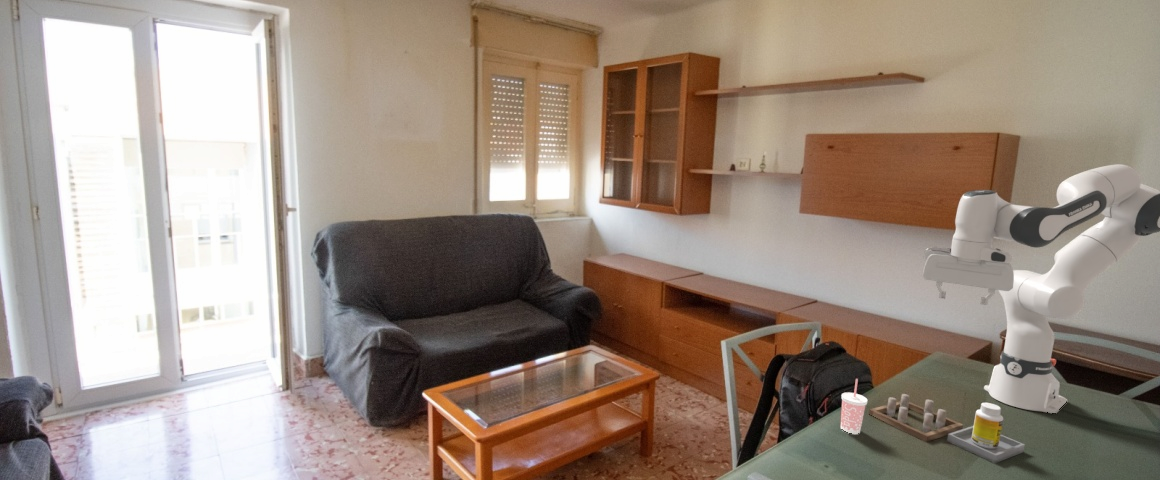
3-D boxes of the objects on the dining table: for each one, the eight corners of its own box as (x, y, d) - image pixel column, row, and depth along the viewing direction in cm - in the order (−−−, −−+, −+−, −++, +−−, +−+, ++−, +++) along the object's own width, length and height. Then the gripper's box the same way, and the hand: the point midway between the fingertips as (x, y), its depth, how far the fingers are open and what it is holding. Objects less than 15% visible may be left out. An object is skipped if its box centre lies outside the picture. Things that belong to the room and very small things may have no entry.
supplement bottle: (998, 452, 137) (1005, 413, 136) (971, 445, 140) (977, 406, 139) (997, 443, 142) (1004, 405, 140) (970, 436, 145) (977, 398, 143)
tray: (975, 431, 149) (976, 424, 149) (1023, 452, 139) (1024, 444, 139) (947, 441, 143) (948, 433, 143) (994, 463, 133) (996, 455, 133)
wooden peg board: (904, 404, 164) (906, 388, 163) (962, 429, 150) (965, 412, 149) (868, 414, 156) (870, 397, 155) (926, 441, 142) (929, 423, 141)
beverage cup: (832, 426, 148) (838, 375, 146) (849, 422, 151) (855, 373, 148) (851, 437, 143) (858, 385, 140) (868, 433, 145) (875, 382, 143)
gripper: (924, 247, 153) (917, 296, 155) (1019, 257, 142) (1009, 310, 144) (925, 244, 158) (918, 292, 160) (1016, 254, 147) (1007, 305, 149)
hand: (962, 301), depth 152 cm, fingers open, 8 cm apart
